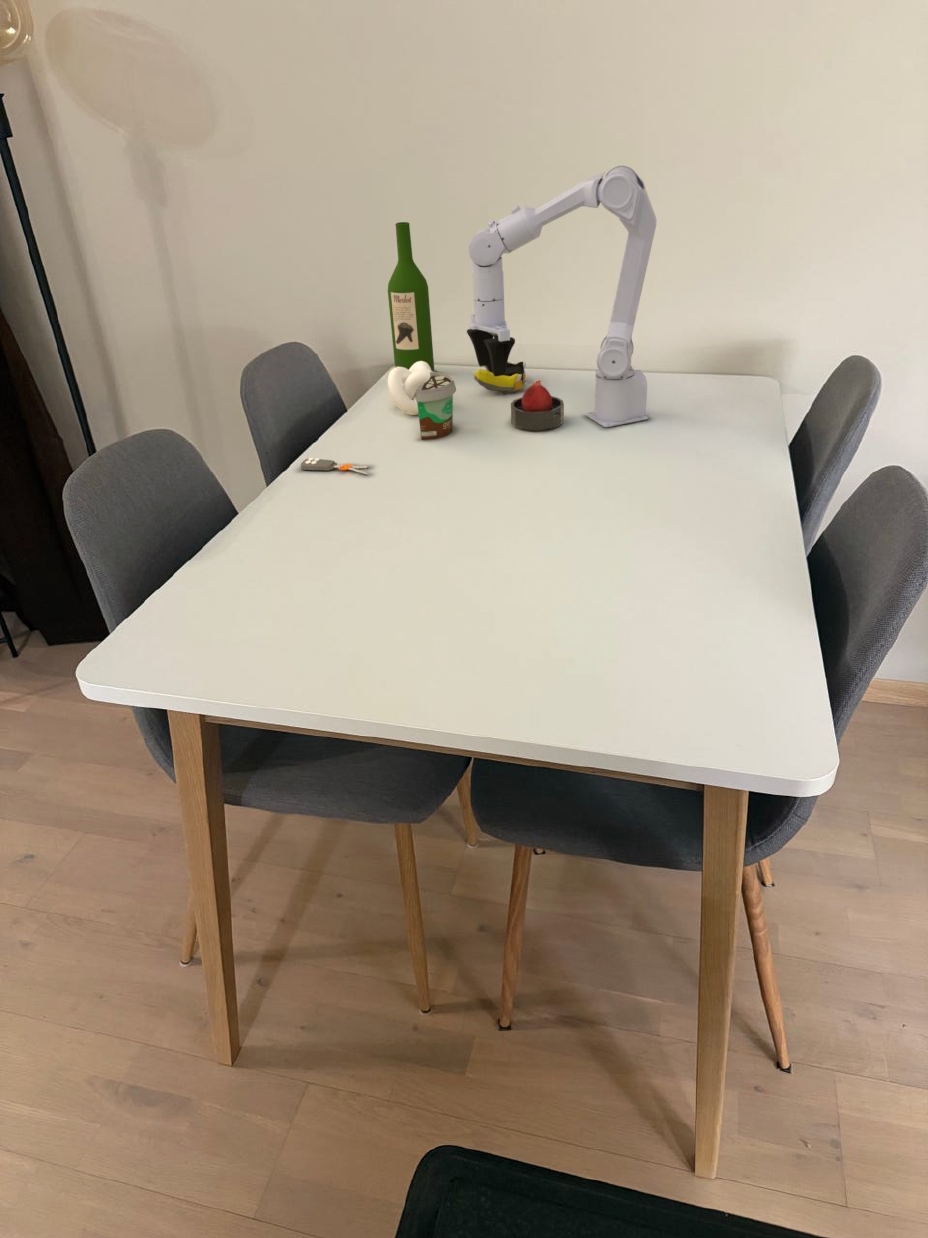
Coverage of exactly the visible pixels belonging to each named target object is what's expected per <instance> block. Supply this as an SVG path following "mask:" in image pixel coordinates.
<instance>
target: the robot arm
mask: <svg viewBox="0 0 928 1238" xmlns="http://www.w3.org/2000/svg"><path fill="white" fill-rule="evenodd" d="M600 205H601V206H602V207H603V208H604V209H605V210H606V211H608V212H610V213H611V214H612V215H614V216H616V217H617V218H618V219H619V221H620V223H622V225H623V226H624V228H625V229H626V231H627V232H628V233H627V239H626V243H625V248H624V252H623V253H624V254H623V258H622V262H621V268H620V273H619V277H618V283H617V287H616V290H615V291H616V292H615V297H614V301H613V305H612V312H611V316H610V321H609V325H608V329H607V334H606V336H605V337H604V338H603V339H602V341H601V344H600V348H599V352H598V353H597V357H596V367H597V369H596V370H595V389H594V390H595V395H594V397H595V399H594V402H595V403H594V411H592V412H587V413H586V417H588V418H589V419H591V420H593V422H596V423H597V424H599V425H600V426H602V428H610V427H616V426H621V425H627V424H631V423H637V422H641V421H646V420H648V419H649V418H648V416H647V401H648V382H647V378H646V374H644V372H643V371H642V370H640V369H635V368H633V366H632V365H631V364H632V356H633V355H634V354H633V353H634V342H633V337H632V336H633V331H634V328H635V322H636V318H637V312H638V309H639V305H640V300H641V297H642V290H643V286H644V281H645V277H646V273H647V269H648V264H649V259H650V255H651V252H652V251H651V250H652V247H653V242H654V238H655V232H656V228H657V217H656V213H655V211H654V208H653V206H652V202H651V200H650V197H649V193H648V192H647V188H646V185H645V182H644V180H643V179H642V178H641V177H640V176H639V174H638V173H637V172H636V171H635V170H634V169H633V168H632V167H630V166H628V165H616V166H614V167H612V168H611V169H609V170H608V172H607V173H606V171H603V172H599V173H597V174H594V175H593V176H590V177H588V178H586V179H583V180H581V181H580V182H578V183H577V184H575V185H573V186H572V187H570V188H568V189H566V190H565V191H563V192H562V193H560V194H558V195H557V196H555V197H554V198H552V199H550V200H548V201H547V202H545V203H543V204H542V205H540V206H538V207H537V208H533V207H530V206H526V205H524V206H522V207H520V206H519V205H516V206H515V207H513V208H511V213H509V214H508V215H507V216H505V217H503V218H501V219H500V220H498V221H496V220H492V221H490V222H489V223H488V227H485V228H482V229H480V230H479V231H478V232H477V233H476V234H474V236H472V238H471V239H470V242H469V244H468V254H469V257H470V259H471V260H472V289H473V291H472V292H473V311H474V312H473V314H471V315H470V317H471V318H470V319H471V323H469V324H468V329H467V330H466V334H467V335H468V338H469V339H470V341H471V344H472V346H473V349H474V353H475V357H476V360H477V363H478V366H479V367H485V366H486V365H490V361H491V365H492V371H493V375H494V376H501V375H505V371H506V367H507V362H509V358H510V354H511V351H512V349H513V347H514V345H515V344H516V338H514V337H512V336H511V330H510V329H509V328H508V323H507V321H506V318H505V317H506V315H505V314H506V313H505V312H506V311H505V280H504V270H503V257H502V256H503V255H504V254H511V253H512V252H515V251H516V250H518V249H519V248H521V247H523V246H525V245H527V244H529V243H531V242H532V241H534V240H536V239H538V238H540V236H541V233H542V229H543V227H544V226H546V225H548V224H550V223H551V222H554V221H557V220H558V219H560V218H562V217H563V216H566V215H567V214H570V213H571V212H573V211H575V210H578V209H579V208H582V207H586V208H594V209H598V208H599V207H600ZM495 221H496V222H495Z"/></svg>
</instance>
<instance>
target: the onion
mask: <svg viewBox="0 0 928 1238" xmlns="http://www.w3.org/2000/svg"><path fill="white" fill-rule="evenodd" d="M541 383H542V382H541V380H540V379H537V380H534V382H533V384H531V385H530V386H529V387H528V388H526V390H525V391H524V393H523V394H522V396H521V397H522V407H523V410H524V411H530V412H540V411H547V410H550V409H551V407H552V397H551V396H552V395H551V393H550V391H549V390H548V389H547V388H546V387H545V386H544V385H542V384H541Z"/></svg>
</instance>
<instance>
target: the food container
mask: <svg viewBox="0 0 928 1238" xmlns="http://www.w3.org/2000/svg"><path fill="white" fill-rule="evenodd" d="M456 392H457V387H456V383H455V381H454V380H453V377H452V376H451V375H450V374H448V373H444V372H440V371H439V372H438V371H434V372H430V379H429V380H428V381H427V382H425V383H424V385H423V387H422V389H421V390H416V402H417V404H418V413H419V414H418V421H419V422H418V423H419V430H420V439H421V441H430V440H431V441H432V440H438V439H441V438H445V437H448V436H449V435H450V434H452V433H453V429H454V428H453V424H454V423H453V422H454V421H453V420H454V418H453V417H454V415H453V413H454V412H453V411H454V394H455V393H456Z"/></svg>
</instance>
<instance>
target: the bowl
mask: <svg viewBox="0 0 928 1238" xmlns="http://www.w3.org/2000/svg"><path fill="white" fill-rule="evenodd" d="M522 397H523V396H521V397H519V398H516V399H514V400H512V402H511V403H510V423H511V425H513V426H514V427H516V428H518V429H521V430H523V431H527V432H542V431H544V432H545V431H549V430H552V429H554V428H557V427H558V426H561V425H562V424H563V423H564V421H565V402H564V399H561V398H559V397H556V396H554V395H551V397H552V407H551V409H550V410H547V411H540V412H530V411H524V410H523V407H522Z"/></svg>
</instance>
